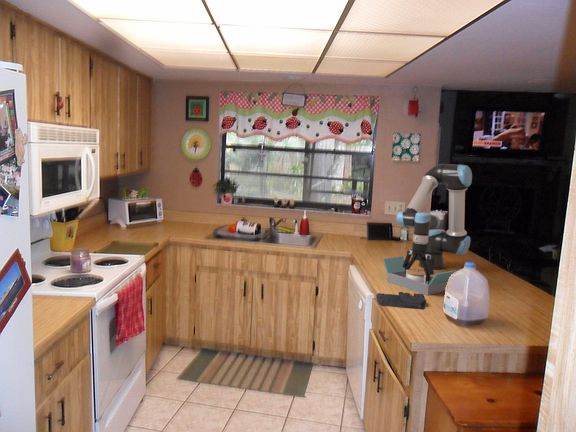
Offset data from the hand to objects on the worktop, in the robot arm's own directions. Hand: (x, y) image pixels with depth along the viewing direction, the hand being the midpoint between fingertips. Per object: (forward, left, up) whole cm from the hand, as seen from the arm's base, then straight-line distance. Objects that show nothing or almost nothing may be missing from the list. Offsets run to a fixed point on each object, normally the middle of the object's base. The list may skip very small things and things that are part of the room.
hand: (416, 284), depth 243 cm
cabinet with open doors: (0, 0, -1) cm, 1 cm away
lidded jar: (0, 0, -1) cm, 1 cm away
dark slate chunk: (+14, -30, -2) cm, 33 cm away
